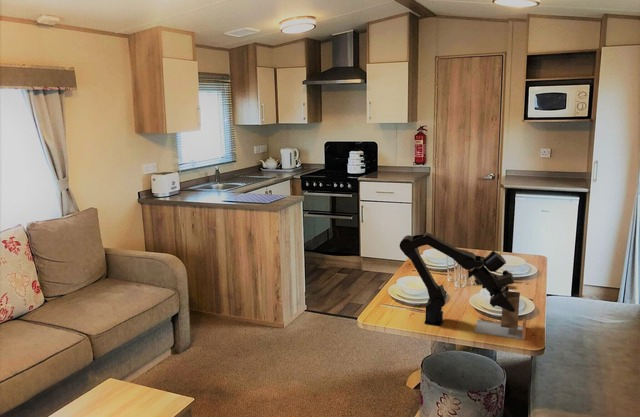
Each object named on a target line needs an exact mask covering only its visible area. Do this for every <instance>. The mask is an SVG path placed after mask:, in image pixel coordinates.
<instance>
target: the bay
mask: <svg viewBox="0 0 640 417" xmlns="http://www.w3.org/2000/svg"><path fill="white" fill-rule="evenodd" d="M526 329H527V318H523V319H522V326H521V325H518V328H517V329H512V328H505V327H501V322H495V321H494V322H493V321H486V320H481V319H480V320H479V319H477V320H476V324H475V328H474V331H473V333H475V334H483V335H489V336H494V337H495V336H496V337H503V338H509V339H515V340H521V341H526V331H527V330H526Z"/></svg>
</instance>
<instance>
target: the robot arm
mask: <svg viewBox="0 0 640 417" xmlns="http://www.w3.org/2000/svg"><path fill="white" fill-rule="evenodd" d="M423 246H429V247H431V248H432V249H435V250H436V251H438V252H439V253H442V254H444V255H446V256H448V257H449V258H451V259H453V260H454V261H455V262H456V263H457V264H458V265H459V266H460V267H461V268H462V269H465V270H466V271H467V278H468V279H470V278H471V277H472V276H473V277H474V279H475V278H476V279H477V280H478V281H479V282H480V283H481V285H482V286H481V287H482V289H486V291H487V292H488V293H489V296H490V299H489V304H490V306H492V307H493V308H494V307H498V308H499V307H500V308H501V309H502V308H504V309H506V310H509V311H511V312H514V311H515V310H514V308H513V307H512V305H511V304H510V302H509V301H508V300H507V295H506V294H505V293H504V291H510V290H509V288H510V286H509V285H514V283H515V278H514V276H513V273H512V272H510V271H508V270H503V271H502V274H501V275H499V276H498V275H496V274H493V272H494V273H495V272H497V271H498V270H500V269H501V268H502V267H503V266H505V264H507V261H506V260H505V258H504V257H503V256H502V255H501V254H499V253H498V252H496V251H495V250H492V251H491V252H490V253H489V254H488V255H486V256H481V255H476V254H475V253H473V252H471V251H468V250H466V249H461V248H457V247H455V246H454V245H451V244H450V243H448V242H446V241H444V240H442V239H440V238H439V237H436V236H434V235H433V234H432V233H429V232H426V233H421V234H415V235H405V236H404V237H402V240H400V242H399V248H400V250H401V251H402V253H403V254H404V255H405V256H406V257H407V258H408V259H409V260H410V261H411V262H412V264H413V266H414V268H415V270H416V271H417V273H418V275H419V277H420V279H421V280H422V283H423V284H424V286H425V288H426V290H427V294H428V300H427V302H426V305H425V320H424V324H426V325H431V326H441V324H442V323H443V321H444V311H443V307H445V304H446V301H447V297H448V296H447V295H448V291H447V290H445V287H444V285H443V284H440V285H439V284H437V282H436V280H435V279H434V276H433V275H432V274H431V272H430V270H429V268H428V267H427V265H426V263H425V260H424V259H423V257H422V255H421V254H420V250H419V249H420V247H421V248H422V247H423ZM480 283H479V284H480ZM506 285H507V287H505V286H506ZM503 286H504V287H503Z"/></svg>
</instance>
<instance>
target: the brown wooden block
mask: <svg viewBox="0 0 640 417" xmlns="http://www.w3.org/2000/svg"><path fill="white" fill-rule="evenodd" d="M504 293H505V294H506V295H507V300H508V301H509V302H510V304H511V305H512V307H513V308H514V310H515V311H514V312H511V311H509V310H506V309H504V308H501V322H500V323H501V327H505V328H512V329H517V328H518V326H519V313H520V312H519V311H520V296H521V293H520V292H518V291H510V290H509V291H504Z"/></svg>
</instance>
